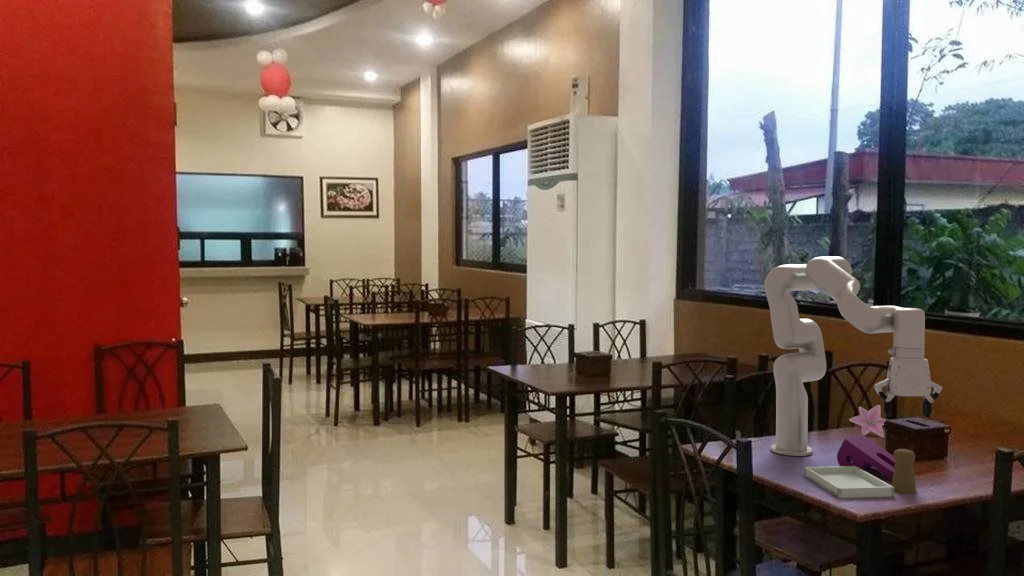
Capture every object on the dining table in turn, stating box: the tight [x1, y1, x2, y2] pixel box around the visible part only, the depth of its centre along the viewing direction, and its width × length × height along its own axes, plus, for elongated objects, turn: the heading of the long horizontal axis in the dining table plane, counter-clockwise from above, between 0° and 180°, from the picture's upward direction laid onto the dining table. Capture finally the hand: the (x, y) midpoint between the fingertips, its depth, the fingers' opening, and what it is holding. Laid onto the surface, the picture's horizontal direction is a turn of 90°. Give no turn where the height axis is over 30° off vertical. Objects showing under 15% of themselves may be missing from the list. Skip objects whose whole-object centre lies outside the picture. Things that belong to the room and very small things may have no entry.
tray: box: [803, 465, 895, 499], centre depth 208 cm, size 20×15×2 cm
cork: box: [891, 448, 917, 495], centre depth 204 cm, size 6×6×11 cm
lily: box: [848, 404, 887, 438], centre depth 267 cm, size 12×12×10 cm
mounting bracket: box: [836, 433, 896, 480], centre depth 220 cm, size 9×8×18 cm
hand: (907, 416), depth 207 cm, fingers open, 9 cm apart
